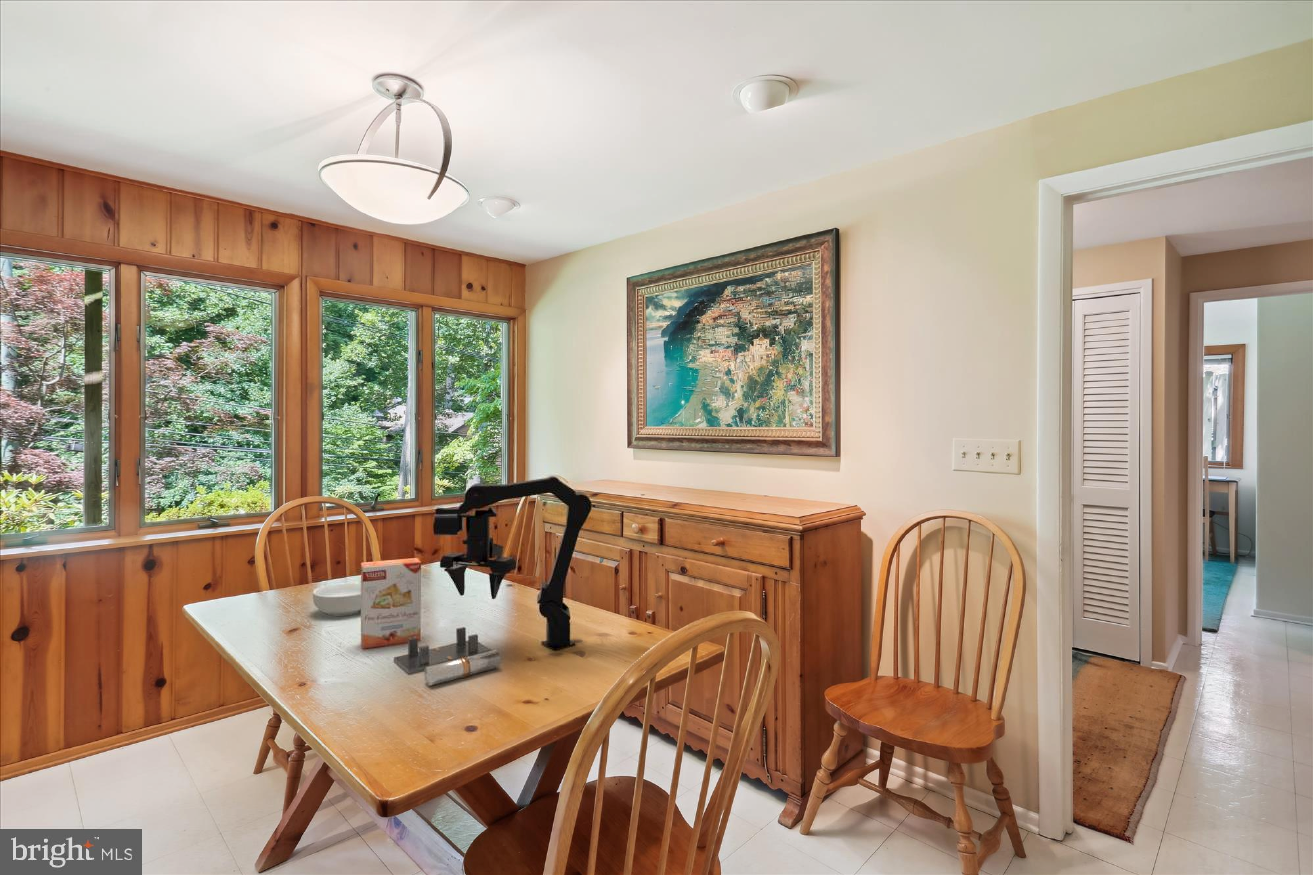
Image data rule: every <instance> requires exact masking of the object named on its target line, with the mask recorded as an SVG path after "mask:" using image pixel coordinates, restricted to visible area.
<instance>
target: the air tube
mask: <svg viewBox="0 0 1313 875" xmlns="http://www.w3.org/2000/svg"><path fill="white" fill-rule="evenodd" d="M500 665H501V656H500V653H499V652H498V651H497V649H493V650H491V651H489V652H485V653H481V654H477V655H473V656H469V657H464V658H460V659H457V660H453V661H448V662H444V663H440V664H436V665H432V666H428V667H426V668H425V670H424V671H423V673H424V674H423V676H424V682H425V685H427V686H428V687H430V686H435V685H438V684H442V683H445V682H450V681H454V680H457V679H460V678H462V679H463V678H466V677H468V676H472V675H475V674H476V675H477V674H479V673H483V672H487V671H490V670H494V669H498V668H500Z"/></svg>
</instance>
